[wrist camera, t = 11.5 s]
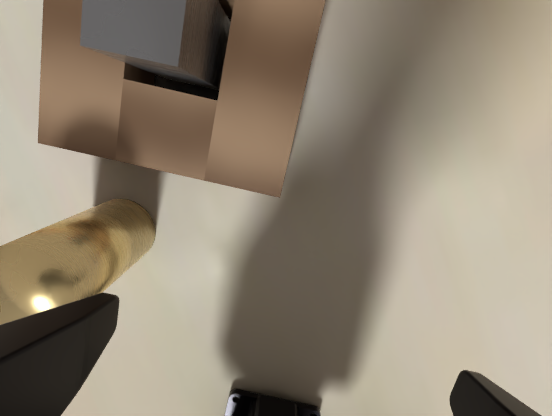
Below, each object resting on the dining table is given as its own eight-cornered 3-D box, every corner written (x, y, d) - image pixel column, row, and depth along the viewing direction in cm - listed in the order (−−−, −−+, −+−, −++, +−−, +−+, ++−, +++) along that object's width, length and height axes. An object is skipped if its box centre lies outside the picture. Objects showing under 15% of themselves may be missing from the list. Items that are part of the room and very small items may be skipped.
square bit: (224, 91, 18) (178, 66, 11) (168, 79, 18) (80, 45, 11) (234, 29, 18) (191, -46, 10) (175, 16, 17) (86, -70, 10)
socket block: (281, 184, 19) (279, 197, 16) (82, 139, 19) (38, 142, 16) (334, -45, 17) (345, -88, 13) (99, -101, 16) (49, -161, 13)
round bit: (151, 265, 21) (71, 346, 13) (89, 251, 21) (-27, 325, 13) (159, 206, 20) (78, 257, 12) (94, 192, 20) (-28, 234, 12)
